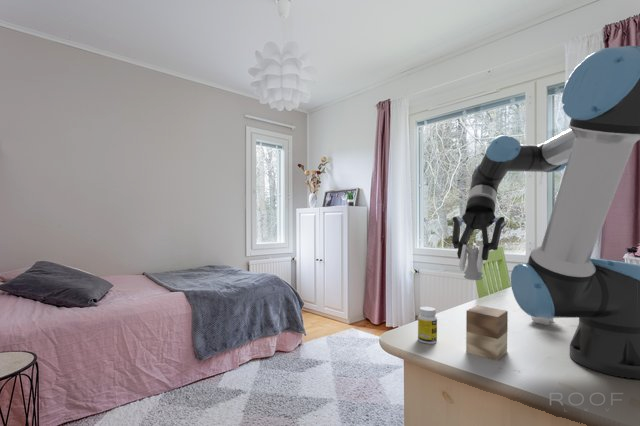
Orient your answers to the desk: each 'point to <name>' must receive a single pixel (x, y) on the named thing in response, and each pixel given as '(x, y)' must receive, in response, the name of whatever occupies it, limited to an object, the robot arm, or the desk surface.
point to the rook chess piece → (472, 265)
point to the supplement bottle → (427, 325)
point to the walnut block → (487, 321)
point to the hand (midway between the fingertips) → (470, 268)
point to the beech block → (486, 345)
